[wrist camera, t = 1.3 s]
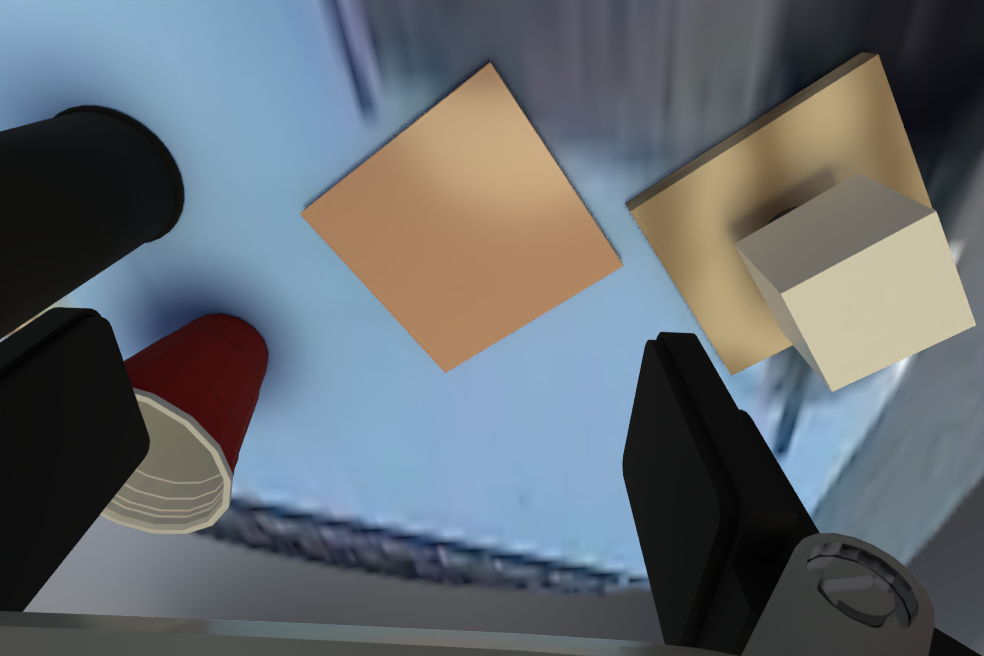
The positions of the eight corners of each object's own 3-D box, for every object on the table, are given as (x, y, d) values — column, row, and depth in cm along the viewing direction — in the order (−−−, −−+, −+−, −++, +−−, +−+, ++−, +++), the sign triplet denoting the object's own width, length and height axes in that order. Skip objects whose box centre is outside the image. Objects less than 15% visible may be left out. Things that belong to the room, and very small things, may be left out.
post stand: (861, 52, 30) (999, 71, 21) (936, 255, 35) (1066, 333, 27) (625, 203, 34) (663, 268, 26) (724, 363, 39) (781, 458, 31)
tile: (490, 60, 30) (490, 62, 29) (620, 259, 36) (623, 265, 35) (305, 208, 34) (299, 213, 34) (446, 364, 40) (445, 373, 39)
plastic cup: (113, 301, 38) (-34, 414, 28) (257, 261, 36) (157, 365, 26) (198, 422, 43) (101, 556, 33) (327, 392, 42) (267, 523, 31)
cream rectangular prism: (857, 172, 28) (936, 210, 23) (897, 270, 31) (975, 325, 26) (734, 243, 30) (780, 294, 25) (781, 330, 33) (832, 391, 28)
